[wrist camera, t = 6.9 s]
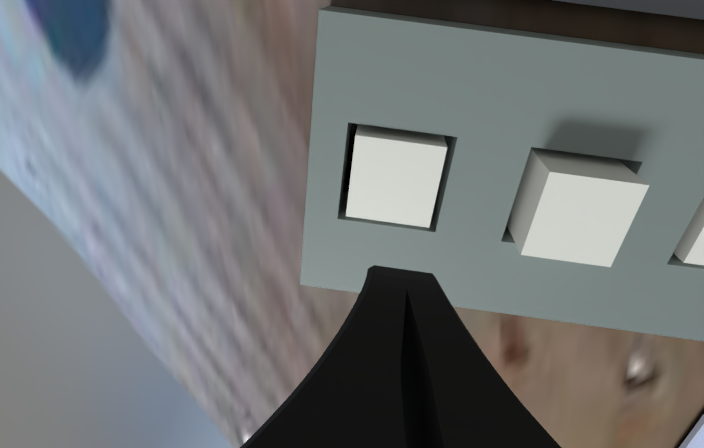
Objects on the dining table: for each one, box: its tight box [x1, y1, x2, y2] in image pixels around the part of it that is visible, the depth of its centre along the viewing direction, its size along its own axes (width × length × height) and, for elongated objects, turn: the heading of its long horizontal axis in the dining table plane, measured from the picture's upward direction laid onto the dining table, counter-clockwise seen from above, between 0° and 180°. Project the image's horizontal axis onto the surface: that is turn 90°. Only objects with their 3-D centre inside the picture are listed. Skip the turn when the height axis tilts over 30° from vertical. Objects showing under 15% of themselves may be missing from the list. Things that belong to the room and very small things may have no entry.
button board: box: [300, 6, 704, 341], centre depth 16 cm, size 18×10×2 cm, turn 84°
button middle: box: [507, 147, 649, 267], centre depth 15 cm, size 3×3×2 cm
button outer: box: [346, 124, 447, 228], centre depth 16 cm, size 3×3×2 cm
